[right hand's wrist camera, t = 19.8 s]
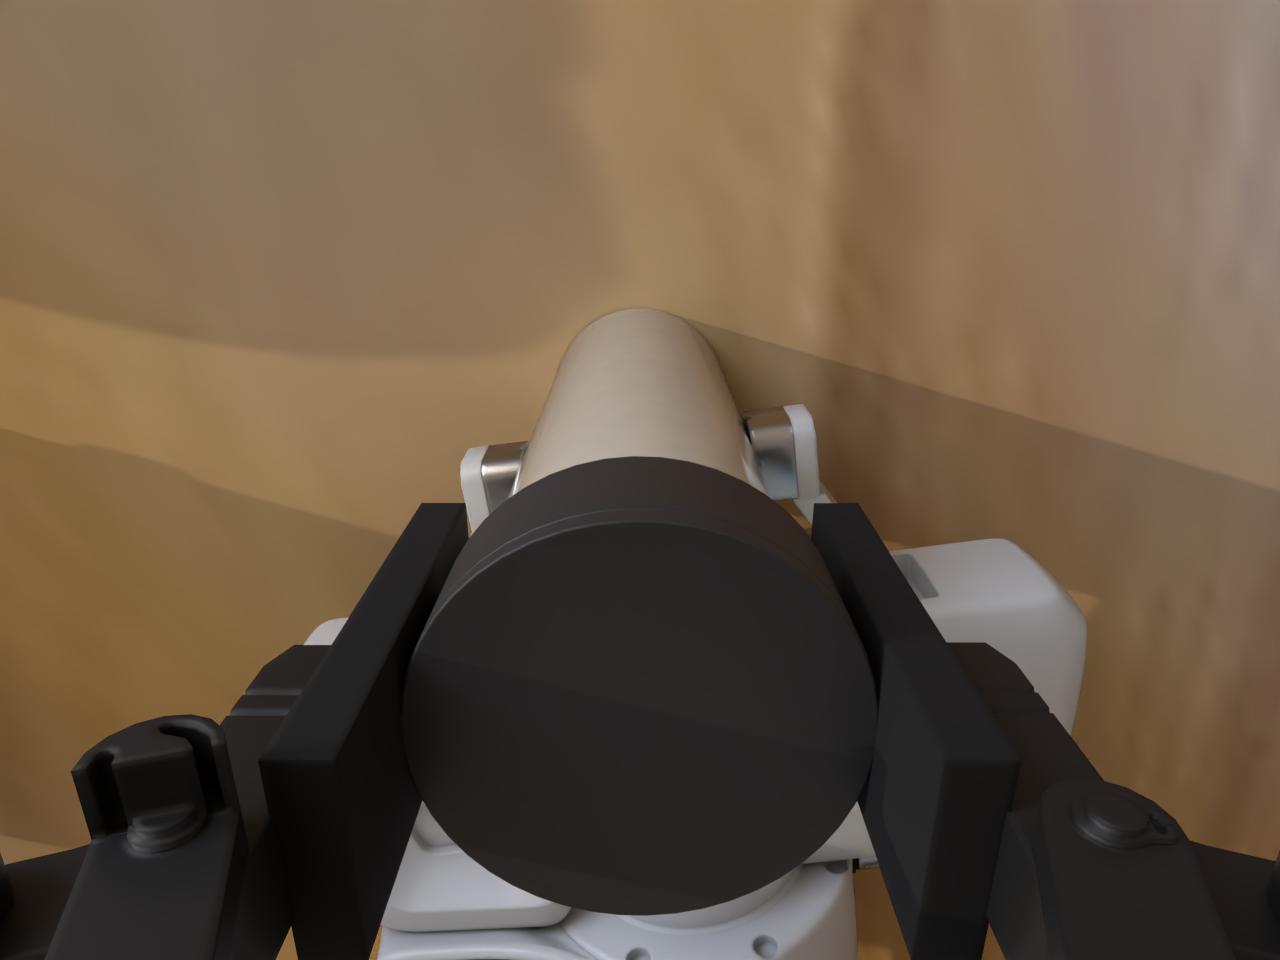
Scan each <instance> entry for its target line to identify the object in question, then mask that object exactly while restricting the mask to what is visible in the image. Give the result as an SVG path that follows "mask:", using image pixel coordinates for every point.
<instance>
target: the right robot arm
mask: <svg viewBox="0 0 1280 960" xmlns="http://www.w3.org/2000/svg"><path fill="white" fill-rule="evenodd" d="M468 539H469V538H468V526H467V514H466V503H421V505H420V506H419V508H418V510H417V511H416V513H415V514H414V516H413V517H412V519H411V521H410V522H409V524H408V525H407V527H406V528H405V530H404V532H403V533H402V535H401V536H400V538H399V539H398V541H397V543H396V544H395V546H394V547H393V549H392V550H391V552H390V554H389V555H388V557H387V558H386V560H385V561H384V563H383V565H382V566H381V568H380V569H379V571H378V572H377V574H376V576H375V577H374V579H373V580H372V582H371V583H370V585H369V587H368V588H367V590H366V591H365V593H364V594H363V596H362V598H361V599H360V601H359V602H358V604H357V605H356V607H355V609H354V610H353V612H352V613H351V615H350V616H349V618H348V620H347V621H346V623H345V624H344V626H343V627H342V629H341V631H340V632H339V634H338V635H337V637H336V638H335V640H334V642H333V643H332V645H294V646H292V647H291V648H289V649H288V650H286V651H285V652H283V653H282V654H281V655H279V656H278V657H276V658H275V659H273V660H272V661H270V662H269V663H268V664H266V665H265V666H264V667H263V668H262V669H261V671H260V672H259V673H258V675H257V676H256V677H255V679H254V680H253V681H252V683H251V684H250V685H249V687H248V688H247V689H246V694H245V695H242V696H241V698H240V699H239V700H238V702H237V703H236V704H235V706H234V707H233V708H232V710H231V714H230V716H226V718H225V719H224V720H223V722H222V723H221V724H220V726H219V725H218V724H217V723H216V722H214V721H213V720H212V719H210V718H205V717H200V716H196V715H191V714H190V715H174V716H163V717H159V718H155V719H152V720H148V721H144V722H140V723H137V724H134V725H132V726H130V727H127V728H125V729H123V730H121V731H119V732H117V733H114V734H112V735H110V736H108V737H107V738H105V739H104V740H102V741H101V742H100V743H98V744H97V745H96V746H94V747H93V748H91V749H90V750H89V751H87V752H86V753H85V754H84V755H83V756H82V758H81V759H80V760H79V762H78V763H77V764H76V765H75V767H74V768H73V769H72V771H71V773H72V777H73V780H74V783H75V786H76V790H77V793H78V796H79V800H80V803H81V806H82V809H83V813H84V816H85V819H86V823H87V826H88V829H89V832H90V836H91V839H92V841H91V843H90V844H89V845H85V846H82V847H79V848H75V849H72V850H68V851H63V852H59V853H54V854H50V855H46V856H41V857H37V858H33V859H28V860H24V861H20V862H15V863H11V864H6V865H4V862H3V859H2V856H1V854H0V960H276V958H277V955H278V953H279V951H280V949H281V947H282V944H283V942H284V940H285V938H286V936H287V933H288V931H289V929H290V927H291V926H292V931H293V936H294V941H295V946H296V951H297V956H298V960H369V957H370V954H371V951H372V948H373V945H374V942H375V939H376V936H377V933H378V930H379V927H380V924H381V921H382V918H383V915H384V912H385V909H386V906H387V904H388V901H389V898H390V895H391V892H392V889H393V886H394V883H395V880H396V877H397V874H398V871H399V868H400V865H401V862H402V859H403V856H404V853H405V850H406V848H407V845H408V842H409V839H410V836H411V833H412V830H413V827H414V824H415V821H416V818H417V815H418V812H419V809H420V806H421V803H422V798H421V797H420V795H419V793H418V791H417V788H416V786H415V784H414V781H413V779H412V776H411V774H410V771H409V768H408V764H407V758H406V751H405V743H404V735H403V726H402V718H401V699H402V690H403V685H404V681H405V677H406V673H407V669H408V665H409V662H410V660H411V658H412V655H413V653H414V650H415V648H416V645H417V643H418V641H419V638H420V636H421V634H422V632H423V630H424V628H425V626H426V623H427V621H428V619H429V617H430V615H431V612H432V610H433V608H434V606H435V604H436V601H437V599H438V597H439V595H440V593H441V591H442V588H443V586H444V584H445V582H446V580H447V578H448V575H449V573H450V571H451V569H452V567H453V565H454V562H455V560H456V559H457V557H458V555H459V554H460V552H461V550H462V549H463V547H464V545H465V544H466V542H467V540H468ZM811 540H812V542H813V543H814V544H815V546H816V547H817V549H818V550H819V552H820V554H821V556H822V558H823V560H824V562H825V564H826V566H827V568H828V570H829V572H830V574H831V576H832V579H833V581H834V583H835V585H836V587H837V589H838V592H839V594H840V596H841V598H842V600H843V602H844V605H845V607H846V609H847V611H848V613H849V615H850V618H851V620H852V622H853V624H854V626H855V628H856V631H857V633H858V635H859V637H860V639H861V641H862V644H863V646H864V648H865V650H866V652H867V655H868V658H869V661H870V664H871V668H872V671H873V674H874V677H875V682H876V688H877V695H878V701H879V712H878V721H877V731H876V739H875V746H874V754H873V761H872V766H871V769H870V772H869V775H868V778H867V781H866V783H865V785H864V787H863V789H862V791H861V793H860V796H859V798H858V800H857V802H858V805H859V808H860V811H861V814H862V817H863V819H864V822H865V825H866V828H867V831H868V834H869V837H870V840H871V843H872V846H873V849H874V852H875V855H876V858H877V861H878V864H879V867H880V870H881V873H882V875H883V878H884V881H885V884H886V887H887V890H888V893H889V896H890V899H891V902H892V905H893V908H894V911H895V914H896V917H897V920H898V923H899V926H900V929H901V932H902V934H903V937H904V940H905V943H906V946H907V949H908V952H909V955H910V958H911V960H981V958H982V953H983V948H984V944H985V939H986V934H987V929H988V924H990V926H991V928H992V930H993V933H994V935H995V937H996V939H997V941H998V943H999V946H1000V948H1001V950H1002V952H1003V954H1004V957H1005V959H1006V960H1280V852H1279V854H1278V857H1277V860H1276V861H1272V860H1267V859H1263V858H1258V857H1254V856H1250V855H1245V854H1241V853H1236V852H1232V851H1228V850H1223V849H1219V848H1214V847H1210V846H1206V845H1203V844H1200V843H1196V842H1193V841H1189V839H1188V838H1187V836H1186V835H1185V833H1184V832H1183V830H1182V829H1181V827H1180V826H1179V824H1178V823H1177V821H1176V820H1175V819H1174V818H1173V817H1172V816H1171V815H1169V814H1168V813H1167V812H1166V811H1164V810H1163V809H1162V808H1161V807H1160V806H1158V805H1157V804H1156V803H1155V802H1153V801H1152V800H1150V799H1148V798H1146V797H1144V796H1142V795H1140V794H1138V793H1136V792H1134V791H1132V790H1130V789H1128V788H1126V787H1122V786H1119V785H1116V784H1112V783H1109V782H1106V781H1104V780H1103V779H1102V778H1101V776H1100V775H1099V774H1098V772H1097V771H1096V770H1095V768H1094V767H1093V766H1092V764H1091V763H1090V762H1089V760H1088V759H1087V758H1086V756H1085V755H1084V754H1083V752H1082V751H1081V750H1080V748H1079V747H1078V745H1077V744H1076V743H1075V741H1074V740H1073V739H1072V737H1071V736H1070V735H1069V733H1068V732H1067V731H1066V729H1065V728H1064V727H1063V725H1062V724H1061V723H1060V721H1059V720H1058V719H1057V717H1056V716H1055V715H1054V713H1050V711H1049V707H1048V705H1047V704H1046V703H1045V701H1044V700H1043V699H1042V697H1041V696H1040V695H1039V693H1038V692H1034V687H1033V685H1032V684H1031V683H1030V681H1029V680H1028V679H1027V677H1026V676H1025V675H1024V673H1023V672H1022V671H1021V669H1020V668H1019V667H1018V665H1017V664H1016V663H1015V662H1013V661H1012V660H1010V659H1009V658H1008V657H1006V656H1005V655H1003V654H1002V653H1000V652H999V651H997V650H996V649H994V648H993V647H992V646H990V645H989V644H987V643H986V642H946V641H945V639H944V638H943V636H942V635H941V633H940V631H939V630H938V628H937V627H936V625H935V624H934V622H933V620H932V619H931V617H930V616H929V614H928V613H927V611H926V609H925V608H924V606H923V605H922V603H921V602H920V600H919V598H918V597H917V595H916V594H915V592H914V591H913V589H912V587H911V586H910V584H909V583H908V581H907V580H906V578H905V576H904V575H903V573H902V572H901V570H900V569H899V567H898V565H897V564H896V562H895V561H894V559H893V558H892V556H891V554H890V553H889V551H888V550H887V548H886V547H885V545H884V543H883V542H882V540H881V539H880V537H879V536H878V534H877V532H876V531H875V529H874V528H873V526H872V525H871V523H870V521H869V520H868V518H867V517H866V515H865V514H864V512H863V510H862V509H861V507H860V506H859V504H858V503H814V508H813V520H812V532H811Z"/></svg>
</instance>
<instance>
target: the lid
mask: <svg viewBox="0 0 1280 960" xmlns="http://www.w3.org/2000/svg"><path fill="white" fill-rule="evenodd" d="M878 712H879V701H878V695H877V688H876V682H875V677H874V674H873V671H872V668H871V664H870V661H869V658H868V655H867V652H866V650H865V648H864V646H863V644H862V641H861V639H860V637H859V635H858V633H857V631H856V628H855V626H854V624H853V622H852V620H851V618H850V615H849V613H848V611H847V609H846V607H845V605H844V602H843V600H842V598H841V596H840V594H839V592H838V589H837V587H836V585H835V583H834V581H833V579H832V576H831V574H830V572H829V570H828V568H827V566H826V564H825V562H824V560H823V558H822V556H821V554H820V552H819V550H818V549H817V547H816V546H815V544H814V543H813V542H812V540H811V539H810V537H809V536H808V535H807V533H806V532H805V530H804V529H803V528H802V527H801V526H800V525H799V524H798V523H797V522H796V521H795V519H794V518H793V517H792V516H791V515H790V514H789V513H788V512H787V511H786V510H785V509H783V508H782V507H781V506H780V505H778V504H777V503H776V502H775V501H773V500H772V499H771V498H770V497H768V496H767V495H766V494H764V493H763V492H761V491H759V490H758V489H756V488H754V487H753V486H751V485H749V484H748V483H746V482H744V481H743V480H740V479H738V478H736V477H733V476H731V475H729V474H727V473H724V472H722V471H720V470H717V469H714V468H711V467H707V466H704V465H700V464H697V463H693V462H690V461H683V460H677V459H671V458H664V457H644V456H629V457H618V458H607V459H601V460H596V461H592V462H587V463H583V464H578V465H575V466H572V467H569V468H566V469H564V470H561V471H558V472H555V473H552V474H550V475H548V476H546V477H544V478H542V479H540V480H538V481H536V482H534V483H532V484H530V485H528V486H526V487H525V488H523V489H522V490H520V491H519V492H517V493H516V494H514V495H513V496H512V497H510V498H509V499H507V500H506V501H504V502H503V503H502V504H501V505H500V506H499V507H498V508H496V509H495V510H494V511H493V512H492V513H491V514H490V515H489V516H488V517H487V518H486V519H484V521H483V522H482V523H481V524H480V526H479V527H478V528H477V529H476V530H475V532H474V533H473V534H472V535H471V536H470V538H469V539H468V540H467V542H466V544H465V545H464V547H463V549H462V550H461V552H460V554H459V555H458V557H457V559H456V560H455V562H454V565H453V567H452V569H451V571H450V573H449V575H448V578H447V580H446V582H445V584H444V586H443V588H442V591H441V593H440V595H439V597H438V599H437V601H436V604H435V606H434V608H433V610H432V612H431V615H430V617H429V619H428V621H427V623H426V626H425V628H424V630H423V632H422V634H421V636H420V638H419V641H418V643H417V645H416V648H415V650H414V653H413V655H412V658H411V660H410V662H409V665H408V669H407V673H406V677H405V681H404V685H403V690H402V699H401V718H402V726H403V735H404V743H405V751H406V758H407V764H408V768H409V771H410V774H411V776H412V779H413V781H414V784H415V786H416V788H417V791H418V793H419V795H420V797H421V798H422V800H423V802H424V804H425V805H426V807H427V809H428V810H429V812H430V814H431V815H432V817H433V818H434V819H435V821H436V822H437V823H438V824H439V826H440V827H441V828H442V829H443V831H444V832H445V833H446V834H447V836H448V837H449V838H450V839H451V840H452V841H453V842H454V843H455V844H456V845H457V846H458V847H459V848H460V849H461V850H462V851H463V852H465V853H466V854H467V855H468V856H469V857H470V858H472V859H473V860H474V861H476V862H477V863H478V864H480V865H481V866H482V867H483V868H485V869H486V870H487V871H489V872H490V873H492V874H494V875H495V876H497V877H499V878H501V879H502V880H504V881H506V882H507V883H509V884H511V885H512V886H515V887H517V888H519V889H521V890H523V891H526V892H528V893H530V894H532V895H534V896H537V897H539V898H542V899H545V900H548V901H551V902H554V903H557V904H560V905H563V906H568V907H572V908H577V909H581V910H586V911H590V912H598V913H606V914H614V915H636V916H651V915H664V914H676V913H682V912H688V911H693V910H699V909H704V908H708V907H711V906H715V905H718V904H722V903H726V902H729V901H732V900H734V899H737V898H740V897H742V896H745V895H747V894H750V893H752V892H755V891H757V890H759V889H761V888H763V887H764V886H766V885H768V884H770V883H772V882H774V881H776V880H778V879H780V878H781V877H783V876H784V875H786V874H787V873H789V872H790V871H792V870H793V869H795V868H796V867H798V866H799V865H800V864H802V863H803V862H804V861H805V860H807V859H808V858H809V857H810V856H811V855H812V854H814V853H815V852H816V851H817V850H818V849H819V848H821V847H822V846H823V845H824V844H825V842H826V841H827V840H828V839H829V838H830V837H831V836H832V835H833V834H834V833H835V831H836V830H837V829H838V828H839V827H840V826H841V824H842V823H843V821H844V820H845V818H846V817H847V816H848V814H849V813H850V811H851V810H852V808H853V807H854V805H855V804H856V802H857V800H858V798H859V796H860V793H861V791H862V789H863V787H864V785H865V783H866V781H867V778H868V775H869V772H870V769H871V766H872V761H873V754H874V746H875V739H876V731H877V721H878Z"/></svg>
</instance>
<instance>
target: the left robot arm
mask: <svg viewBox="0 0 1280 960" xmlns="http://www.w3.org/2000/svg"><path fill="white" fill-rule="evenodd" d="M742 417H743V425H744V427H745V430H746V432H747V435H748V437H749V440H750V443H751V445H752V448H753V450H754V453H755V455H756V458H757V460H758V463H759V466H760V468H761V471H762V473H763V476H764V478H765V481H766V483H767V486H768V488H769V491H770V494H771V496H772V499H773V500H782V499H792V500H793V502H794V503H795V504H796V506H797V507H798V508H799V510H800V511H801V512H802V514H803V515H804V516H805V518H806V519H807V520H808V522H809V523H810V524H811V526H812V520H813V508H814V503H837V502H836V501H835V499H834V498H833V497H832V495H831V494H830V493H829V491H828V490H827V489H826V487H825V486H824V485H823V483H822V482H821V481H820V479H819V467H818V453H817V438H816V431H815V426H814V422H813V418H812V416H811V414H810V413H809V411H808V410H807V408H806V407H805V405H804V404H797V405H790V406H782V407H775V408H768V409H761V410H754V411H747V412H743V416H742ZM528 445H529V441H524V442H516V443H507V444H499V445H490V446H489V445H485V446H480V447H474V448H469V450H468V451H467V453H466V455H465V457H464V458H463V460H462V462H461V470H460V474H461V486H462V490H463V494H464V499H465V503H466V507H467V512H468V516H469V520H470V525H471V529H472V534H473V533H474V532H475V530H476V529H477V528H478V527H479V526H480V524H481V523H482V522H483V521H484V519H486V518H487V517H488V516H489V515H490V514H491V513H492V512H493V511H494V510H495V509H496V508H498V507H499V506H500V505H501V504H502V503H503V502H504V501H506V500H507V498H508V495H509V493H510V490H511V488H512V485H513V483H514V480H515V478H516V475H517V473H518V470H519V467H520V465H521V462H522V460H523V457H524V455H525V452H526V450H527V447H528ZM804 530H805V532H806V533H807V535H808V536H809V537H810V539H811V532H812V528H808V529H804ZM472 534H471V535H472ZM889 553H890V554H891V556H892V558H893V559H894V561H895V562H896V564H897V565H898V567H899V569H900V570H901V572H902V573H903V575H904V576H905V578H906V580H907V581H908V583H909V584H910V586H911V587H912V589H913V591H914V592H915V594H916V595H917V597H918V598H919V600H920V602H921V603H922V605H923V606H924V608H925V609H926V611H927V613H928V614H929V616H930V617H931V619H932V620H933V622H934V624H935V625H936V627H937V628H938V630H939V631H940V633H941V635H942V636H943V638H944V639H945V641H946V642H986V643H987V644H989V645H990V646H992V647H993V648H994V649H996V650H997V651H999V652H1000V653H1002V654H1003V655H1005V656H1006V657H1008V658H1009V659H1010V660H1012V661H1013V662H1015V663H1016V664H1017V665H1018V667H1019V668H1020V669H1021V671H1022V672H1023V673H1024V675H1025V676H1026V677H1027V679H1028V680H1029V681H1030V683H1031V684H1032V685H1033V687H1034V692H1038V693H1039V695H1040V696H1041V697H1042V699H1043V700H1044V701H1045V703H1046V704H1047V705H1048V707H1049V711H1050V713H1054V715H1055V716H1056V717H1057V719H1058V720H1059V721H1060V723H1061V724H1062V725H1063V727H1064V728H1065V729H1066V731H1067V732H1068V733H1069V735H1070V736H1071V734H1072V730H1073V725H1074V721H1075V716H1076V712H1077V707H1078V702H1079V697H1080V692H1081V686H1082V681H1083V675H1084V668H1085V661H1086V654H1087V642H1088V631H1087V624H1086V620H1085V617H1084V615H1083V613H1082V611H1081V609H1080V608H1079V606H1078V604H1077V603H1076V602H1075V600H1074V599H1073V598H1072V596H1071V595H1070V594H1069V593H1068V591H1067V590H1066V589H1065V588H1064V587H1063V586H1062V585H1061V584H1060V583H1059V581H1058V580H1057V579H1056V578H1055V577H1054V576H1053V575H1052V574H1051V573H1050V572H1049V571H1048V570H1046V569H1045V568H1044V567H1043V566H1042V565H1041V564H1040V563H1039V562H1037V561H1036V560H1035V559H1034V558H1032V557H1031V556H1030V555H1029V554H1027V553H1026V552H1025V551H1024V550H1023V549H1021V548H1020V547H1019V546H1018V545H1016V544H1015V543H1013V542H1011V541H1009V540H1006V539H1002V538H993V539H982V540H974V541H966V542H958V543H950V544H942V545H934V546H926V547H918V548H910V549H901V550H893V551H889ZM348 618H349V617H347V618H339V619H333V620H329V621H326V622H324V623H323V624H321V625H320V626H318V627H317V628H316V629H315V630H314V631H313V633H312V634H311V635H310V636H309V638H308V639H307V640H306V642H305V643H304V644H303V645H332V643H333V642H334V640H335V638H336V637H337V635H338V634H339V632H340V631H341V629H342V627H343V626H344V624H345V623H346V621H347V620H348ZM872 868H880V867H879V864H878V861H877V858H876V855H875V852H874V849H873V846H872V843H871V840H870V837H869V834H868V831H867V828H866V825H865V822H864V819H863V817H862V814H861V811H860V808H859V805H858V802H856V804H855V805H854V807H853V808H852V810H851V811H850V813H849V814H848V816H847V817H846V818H845V820H844V821H843V823H842V824H841V826H840V827H839V828H838V829H837V830H836V831H835V833H834V834H833V835H832V836H831V837H830V838H829V839H828V840H827V841H826V842H825V844H824V845H823V846H822V847H821V848H819V849H818V850H817V851H816V852H815V853H814V854H812V855H811V856H810V857H809V858H808V859H807V860H805V861H804V862H803V863H802V864H800V865H799V866H798V867H796V868H795V869H793V870H792V871H790V872H789V873H787V874H786V875H784V876H783V877H781V878H780V879H778V880H776V881H774V882H772V883H770V884H768V885H766V886H764V887H763V888H761V889H759V890H757V891H755V892H752V893H750V894H747V895H745V896H742V897H740V898H737V899H734V900H732V901H729V902H726V903H722V904H718V905H715V906H711V907H708V908H704V909H699V910H693V911H688V912H682V913H676V914H664V915H651V916H636V915H614V914H606V913H598V912H590V911H586V910H581V909H577V908H572V907H568V906H563V905H560V904H557V903H554V902H551V901H548V900H545V899H542V898H539V897H537V896H534V895H532V894H530V893H528V892H526V891H523V890H521V889H519V888H517V887H515V886H512V885H511V884H509V883H507V882H506V881H504V880H502V879H501V878H499V877H497V876H495V875H494V874H492V873H490V872H489V871H487V870H486V869H485V868H483V867H482V866H481V865H480V864H478V863H477V862H476V861H474V860H473V859H472V858H470V857H469V856H468V855H467V854H466V853H465V852H463V851H462V850H461V849H460V848H459V847H458V846H457V845H456V844H455V843H454V842H453V841H452V840H451V839H450V838H449V837H448V836H447V834H446V833H445V832H444V831H443V829H442V828H441V827H440V826H439V824H438V823H437V822H436V821H435V819H434V818H433V817H432V815H431V814H430V812H429V810H428V809H427V807H426V805H425V804H424V802H423V800H422V803H421V806H420V809H419V812H418V815H417V818H416V821H415V824H414V827H413V830H412V833H411V836H410V839H409V842H408V845H407V848H406V850H405V853H404V856H403V859H402V862H401V865H400V868H399V871H398V874H397V877H396V880H395V883H394V886H393V889H392V892H391V895H390V898H389V901H388V904H387V906H386V909H385V912H384V915H383V918H382V921H381V924H380V926H383V930H382V935H381V940H380V946H379V951H378V956H377V960H858V944H857V928H856V912H855V892H854V885H853V873H856V869H858V870H862V869H872Z"/></svg>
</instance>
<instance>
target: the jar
mask: <svg viewBox="0 0 1280 960" xmlns="http://www.w3.org/2000/svg"><path fill="white" fill-rule="evenodd" d="M629 456H644V457H664V458H671V459H677V460H683V461H690V462H693V463H697V464H700V465H704V466H707V467H711V468H714V469H717V470H720V471H722V472H724V473H727V474H729V475H731V476H733V477H736V478H738V479H740V480H743V481H744V482H746V483H748V484H749V485H751V486H753V487H754V488H756V489H758V490H759V491H761V492H763V493H764V494H766V495H767V496H768V497H770V498H771V499H772V496H771V494H770V491H769V488H768V486H767V483H766V481H765V478H764V476H763V473H762V471H761V468H760V466H759V463H758V460H757V458H756V455H755V453H754V450H753V448H752V445H751V443H750V440H749V437H748V435H747V432H746V430H745V427H744V425H743V422H742V420H741V417H740V415H739V412H738V409H737V407H736V404H735V402H734V399H733V397H732V394H731V392H730V389H729V387H728V384H727V381H726V379H725V376H724V374H723V371H722V369H721V366H720V364H719V361H718V359H717V357H716V355H715V353H714V351H713V349H712V348H711V346H710V345H709V343H708V342H707V341H706V339H705V338H704V337H703V336H702V335H701V334H700V333H699V332H698V331H697V330H696V329H695V328H694V327H693V326H691V325H690V324H688V323H687V322H685V321H684V320H682V319H680V318H678V317H676V316H674V315H671V314H668V313H665V312H662V311H657V310H652V309H627V310H622V311H617V312H615V313H612V314H609V315H606V316H604V317H602V318H600V319H598V320H596V321H595V322H593V323H592V324H590V325H589V326H587V327H586V328H585V329H584V330H583V331H582V332H581V333H579V334H578V336H577V337H576V338H575V339H574V340H573V341H572V343H571V344H570V346H569V347H568V349H567V350H566V352H565V354H564V356H563V359H562V361H561V363H560V366H559V368H558V371H557V373H556V376H555V378H554V381H553V383H552V386H551V389H550V391H549V394H548V396H547V399H546V401H545V404H544V406H543V409H542V411H541V414H540V417H539V419H538V422H537V424H536V427H535V429H534V432H533V434H532V437H531V439H530V442H529V445H528V447H527V450H526V452H525V455H524V457H523V460H522V462H521V465H520V467H519V470H518V473H517V475H516V478H515V480H514V483H513V485H512V488H511V490H510V493H509V495H508V498H507V499H509V498H510V497H512V496H513V495H514V494H516V493H517V492H519V491H520V490H522V489H523V488H525V487H526V486H528V485H530V484H532V483H534V482H536V481H538V480H540V479H542V478H544V477H546V476H548V475H550V474H552V473H555V472H558V471H561V470H564V469H566V468H569V467H572V466H575V465H578V464H583V463H587V462H592V461H596V460H601V459H607V458H618V457H629ZM772 500H773V499H772Z"/></svg>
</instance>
